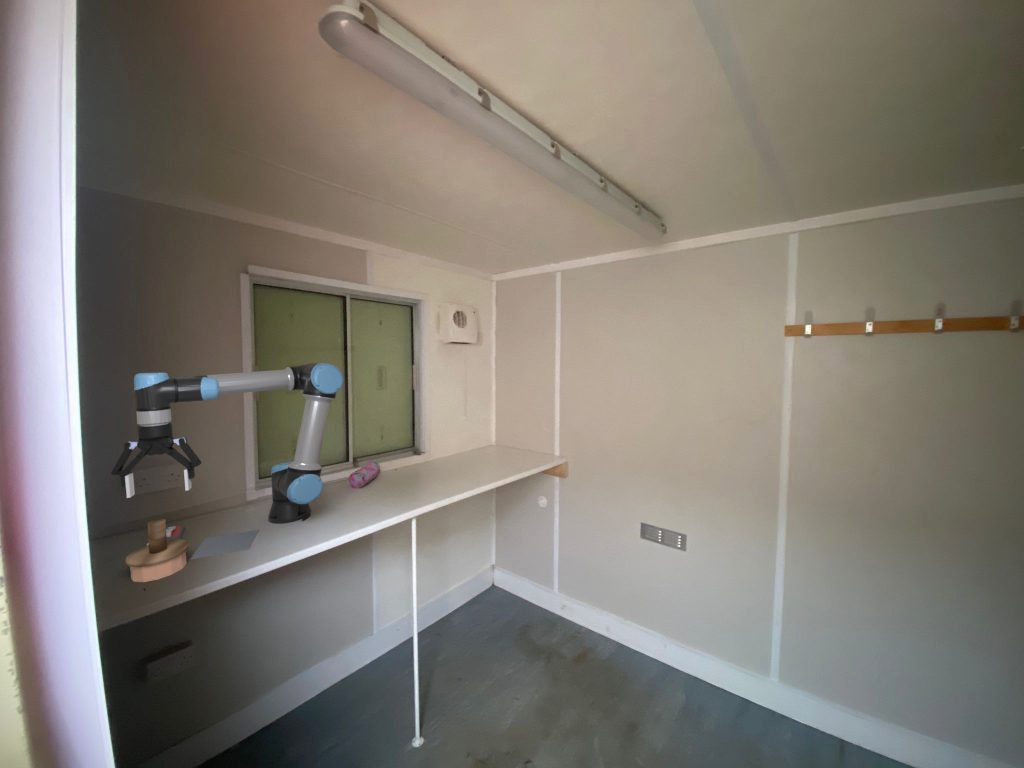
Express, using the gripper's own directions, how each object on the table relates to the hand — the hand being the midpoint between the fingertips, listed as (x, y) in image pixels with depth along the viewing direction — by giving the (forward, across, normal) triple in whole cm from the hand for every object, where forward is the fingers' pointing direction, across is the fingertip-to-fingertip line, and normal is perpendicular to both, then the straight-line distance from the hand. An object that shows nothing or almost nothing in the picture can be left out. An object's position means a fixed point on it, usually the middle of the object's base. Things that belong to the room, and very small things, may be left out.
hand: (160, 492), depth 115 cm
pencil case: (+26, -61, -64) cm, 92 cm away
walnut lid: (+19, +1, +1) cm, 19 cm away
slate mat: (+25, -13, -10) cm, 30 cm away
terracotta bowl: (+25, +1, +1) cm, 25 cm away
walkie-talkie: (+25, +8, -22) cm, 34 cm away
